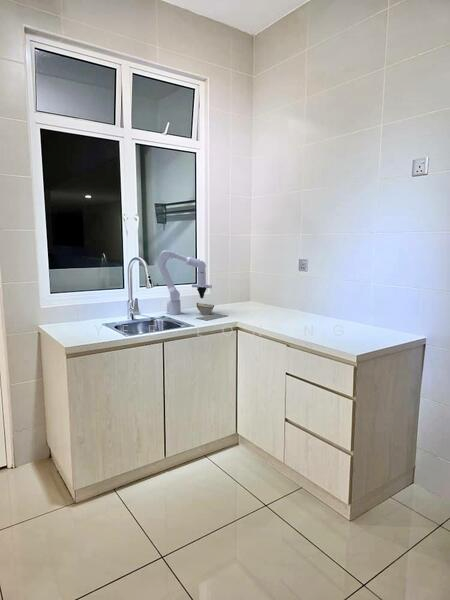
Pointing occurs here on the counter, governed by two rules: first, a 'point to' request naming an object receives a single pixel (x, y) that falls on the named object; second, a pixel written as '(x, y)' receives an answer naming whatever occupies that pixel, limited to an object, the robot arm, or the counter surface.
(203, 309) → the food container
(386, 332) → the counter surface
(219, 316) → the mat
